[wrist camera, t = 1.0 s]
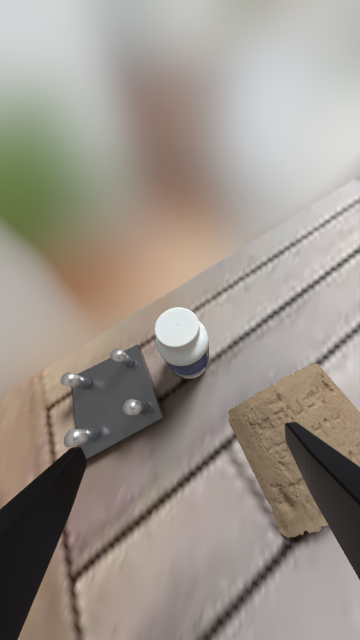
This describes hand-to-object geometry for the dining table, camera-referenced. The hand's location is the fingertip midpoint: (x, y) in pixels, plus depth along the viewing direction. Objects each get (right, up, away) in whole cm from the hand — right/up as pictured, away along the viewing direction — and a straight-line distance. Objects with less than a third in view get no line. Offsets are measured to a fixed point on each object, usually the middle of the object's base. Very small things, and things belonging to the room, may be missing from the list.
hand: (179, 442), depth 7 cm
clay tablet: (+13, -7, +10) cm, 18 cm away
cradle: (-8, -5, +15) cm, 18 cm away
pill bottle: (+1, 0, +16) cm, 16 cm away
